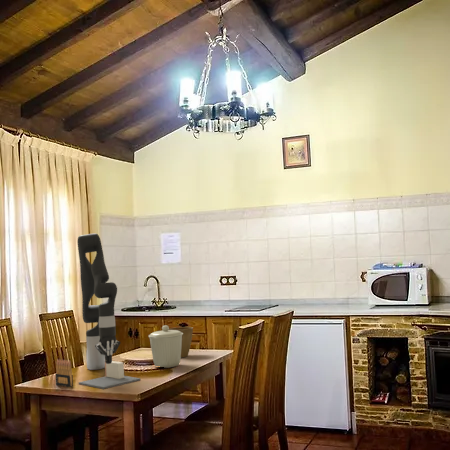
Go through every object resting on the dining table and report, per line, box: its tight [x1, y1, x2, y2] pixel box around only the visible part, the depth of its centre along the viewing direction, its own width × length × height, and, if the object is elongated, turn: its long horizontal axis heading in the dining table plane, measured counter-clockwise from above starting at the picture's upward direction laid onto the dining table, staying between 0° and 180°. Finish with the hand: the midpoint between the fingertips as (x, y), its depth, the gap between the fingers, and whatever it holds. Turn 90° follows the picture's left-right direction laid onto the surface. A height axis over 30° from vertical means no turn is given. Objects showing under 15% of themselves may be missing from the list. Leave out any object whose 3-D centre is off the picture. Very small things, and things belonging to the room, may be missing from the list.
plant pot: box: [168, 326, 194, 358], centre depth 314 cm, size 15×15×16 cm
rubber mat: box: [78, 375, 141, 390], centre depth 254 cm, size 20×20×1 cm
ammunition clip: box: [55, 358, 74, 388], centre depth 252 cm, size 11×2×12 cm, turn 52°
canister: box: [148, 324, 183, 369], centre depth 286 cm, size 18×18×21 cm
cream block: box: [104, 360, 125, 379], centre depth 261 cm, size 3×7×11 cm
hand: (108, 363), depth 254 cm, fingers closed
